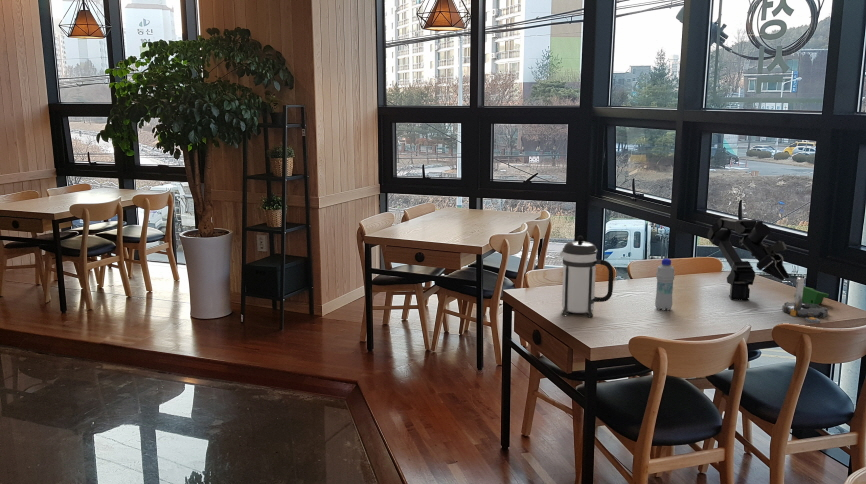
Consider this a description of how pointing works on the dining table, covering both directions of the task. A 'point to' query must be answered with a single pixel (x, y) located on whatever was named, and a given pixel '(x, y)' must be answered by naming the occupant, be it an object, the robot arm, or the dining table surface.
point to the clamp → (813, 296)
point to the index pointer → (812, 320)
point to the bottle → (664, 285)
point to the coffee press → (581, 277)
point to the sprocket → (803, 305)
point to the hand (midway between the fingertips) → (785, 278)
